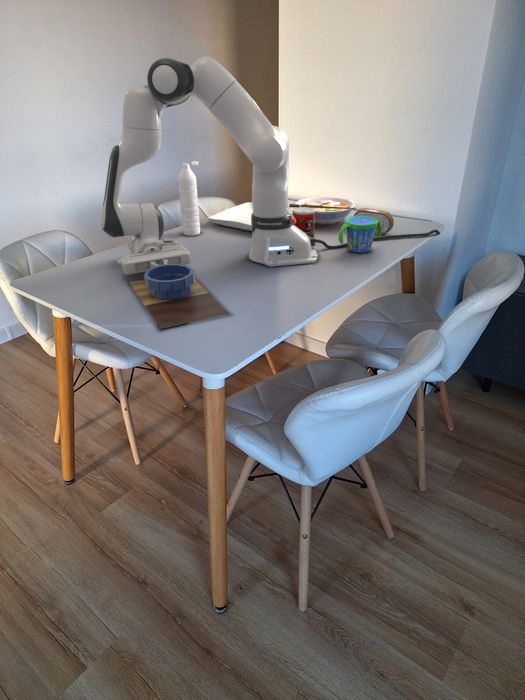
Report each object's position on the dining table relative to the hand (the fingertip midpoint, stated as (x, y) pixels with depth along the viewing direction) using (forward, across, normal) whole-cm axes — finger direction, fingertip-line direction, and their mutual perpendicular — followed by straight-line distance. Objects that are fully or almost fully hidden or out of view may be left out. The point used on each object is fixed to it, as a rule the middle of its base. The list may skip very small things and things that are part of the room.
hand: (162, 269), depth 145 cm
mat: (+19, 0, +5) cm, 20 cm away
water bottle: (-45, +24, +5) cm, 51 cm away
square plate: (-46, +50, +5) cm, 68 cm away
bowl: (+7, 0, +5) cm, 8 cm away
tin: (-14, +82, +5) cm, 84 cm away
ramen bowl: (-33, +74, +5) cm, 81 cm away
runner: (+3, 0, +5) cm, 6 cm away
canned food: (-17, +55, +5) cm, 58 cm away
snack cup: (0, +67, +5) cm, 67 cm away
